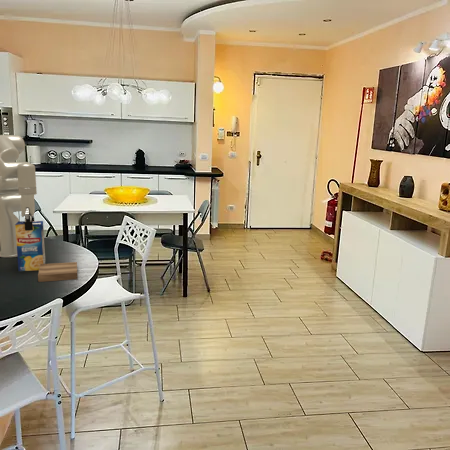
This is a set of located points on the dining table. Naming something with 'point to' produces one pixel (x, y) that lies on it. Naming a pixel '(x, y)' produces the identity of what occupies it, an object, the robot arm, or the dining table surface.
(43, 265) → the walnut base
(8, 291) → the dining table surface
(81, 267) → the dining table surface
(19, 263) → the beverage box
